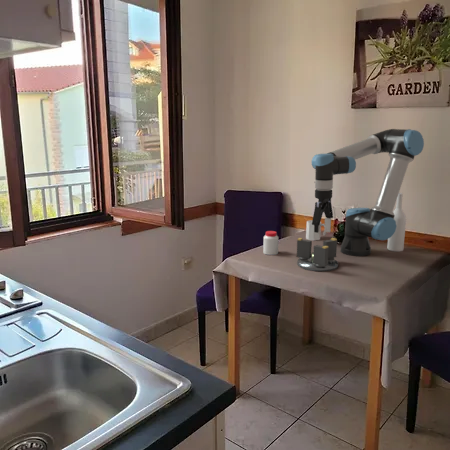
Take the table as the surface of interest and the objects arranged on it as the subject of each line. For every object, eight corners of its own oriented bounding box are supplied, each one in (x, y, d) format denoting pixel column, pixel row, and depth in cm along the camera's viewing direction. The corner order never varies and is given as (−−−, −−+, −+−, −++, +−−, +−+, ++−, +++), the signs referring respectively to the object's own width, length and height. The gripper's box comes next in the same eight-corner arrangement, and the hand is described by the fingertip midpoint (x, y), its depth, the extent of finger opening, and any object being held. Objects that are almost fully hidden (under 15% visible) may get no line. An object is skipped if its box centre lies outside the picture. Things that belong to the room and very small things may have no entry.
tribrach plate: (333, 258, 226) (334, 245, 224) (342, 271, 207) (342, 257, 206) (295, 258, 226) (295, 245, 225) (300, 271, 208) (300, 256, 206)
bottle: (406, 249, 240) (411, 193, 232) (396, 252, 235) (401, 195, 228) (393, 246, 246) (398, 191, 239) (383, 248, 242) (388, 192, 235)
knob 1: (311, 258, 220) (312, 239, 218) (308, 261, 217) (309, 241, 214) (299, 256, 224) (300, 237, 221) (295, 258, 220) (296, 239, 218)
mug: (307, 240, 258) (307, 223, 256) (304, 236, 267) (305, 220, 264) (328, 240, 258) (329, 223, 256) (325, 236, 266) (326, 220, 264)
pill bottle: (277, 255, 232) (278, 234, 229) (262, 254, 233) (262, 233, 231) (278, 251, 239) (279, 230, 236) (264, 250, 241) (264, 230, 238)
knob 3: (327, 261, 216) (328, 241, 214) (321, 258, 220) (321, 239, 218) (337, 259, 219) (338, 239, 217) (331, 256, 223) (332, 237, 221)
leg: (311, 265, 211) (312, 245, 208) (317, 263, 213) (318, 243, 211) (323, 268, 206) (324, 247, 204) (328, 266, 209) (329, 245, 207)
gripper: (325, 184, 213) (323, 228, 219) (304, 193, 193) (303, 241, 198) (341, 185, 209) (339, 230, 215) (321, 194, 189) (320, 243, 194)
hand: (322, 235), depth 206 cm, fingers open, 13 cm apart
